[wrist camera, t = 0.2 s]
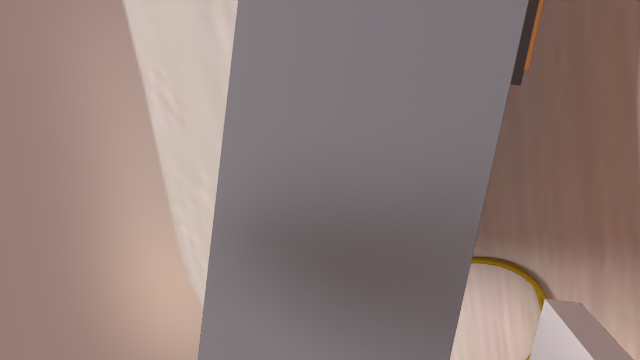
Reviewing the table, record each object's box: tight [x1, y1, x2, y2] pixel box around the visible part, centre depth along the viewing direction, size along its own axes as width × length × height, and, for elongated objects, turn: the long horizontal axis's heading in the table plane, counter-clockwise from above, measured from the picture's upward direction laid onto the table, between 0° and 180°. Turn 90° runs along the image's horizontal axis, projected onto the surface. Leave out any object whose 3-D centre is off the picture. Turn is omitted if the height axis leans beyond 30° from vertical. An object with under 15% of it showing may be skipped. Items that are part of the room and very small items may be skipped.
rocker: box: [510, 0, 544, 86], centre depth 25 cm, size 6×2×10 cm, turn 172°
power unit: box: [198, 0, 529, 360], centre depth 27 cm, size 20×8×22 cm, turn 171°
